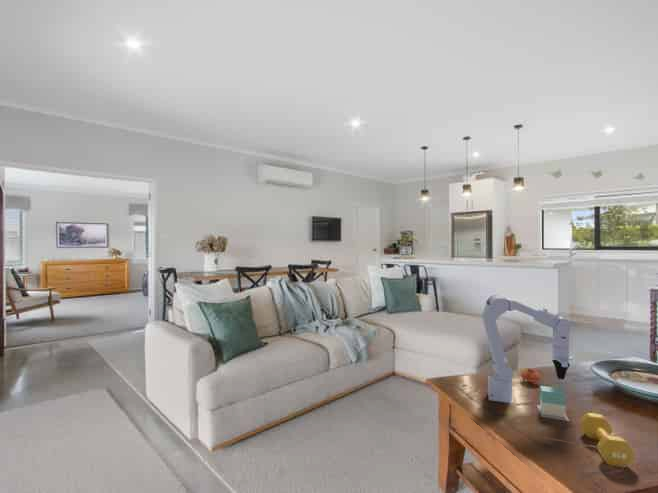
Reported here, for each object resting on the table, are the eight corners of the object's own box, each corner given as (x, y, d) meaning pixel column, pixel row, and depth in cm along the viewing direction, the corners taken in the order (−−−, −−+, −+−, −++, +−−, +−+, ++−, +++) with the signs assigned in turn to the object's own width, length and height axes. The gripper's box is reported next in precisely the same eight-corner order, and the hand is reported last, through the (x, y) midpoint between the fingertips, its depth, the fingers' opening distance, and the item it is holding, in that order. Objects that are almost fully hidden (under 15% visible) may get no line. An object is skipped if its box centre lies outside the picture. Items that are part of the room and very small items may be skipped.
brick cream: (542, 413, 134) (542, 402, 134) (540, 407, 139) (540, 396, 139) (565, 417, 131) (565, 405, 131) (562, 411, 136) (562, 400, 136)
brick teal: (542, 402, 134) (542, 390, 134) (540, 396, 139) (540, 385, 138) (565, 405, 131) (565, 393, 131) (562, 399, 136) (562, 388, 136)
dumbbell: (637, 472, 101) (637, 444, 101) (600, 466, 104) (600, 439, 104) (609, 437, 119) (609, 413, 119) (578, 432, 122) (578, 409, 122)
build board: (541, 417, 132) (541, 416, 132) (536, 405, 141) (536, 404, 141) (569, 422, 128) (569, 420, 128) (562, 409, 138) (562, 408, 138)
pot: (525, 377, 170) (528, 364, 168) (541, 386, 163) (545, 373, 162) (516, 380, 166) (519, 367, 164) (532, 389, 159) (535, 376, 158)
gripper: (577, 352, 134) (577, 386, 135) (567, 342, 148) (567, 373, 148) (555, 350, 137) (556, 384, 137) (548, 340, 150) (548, 371, 151)
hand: (560, 378), depth 143 cm, fingers closed
